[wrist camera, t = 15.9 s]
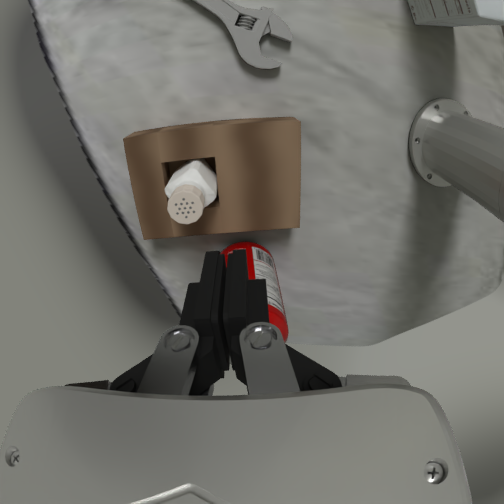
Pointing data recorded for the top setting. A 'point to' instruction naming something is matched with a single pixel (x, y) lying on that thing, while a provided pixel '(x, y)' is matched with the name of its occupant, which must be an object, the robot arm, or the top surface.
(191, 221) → the pepper shaker
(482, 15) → the supplement box
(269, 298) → the soda can
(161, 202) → the socket block
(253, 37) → the adjustable wrench
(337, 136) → the top surface
